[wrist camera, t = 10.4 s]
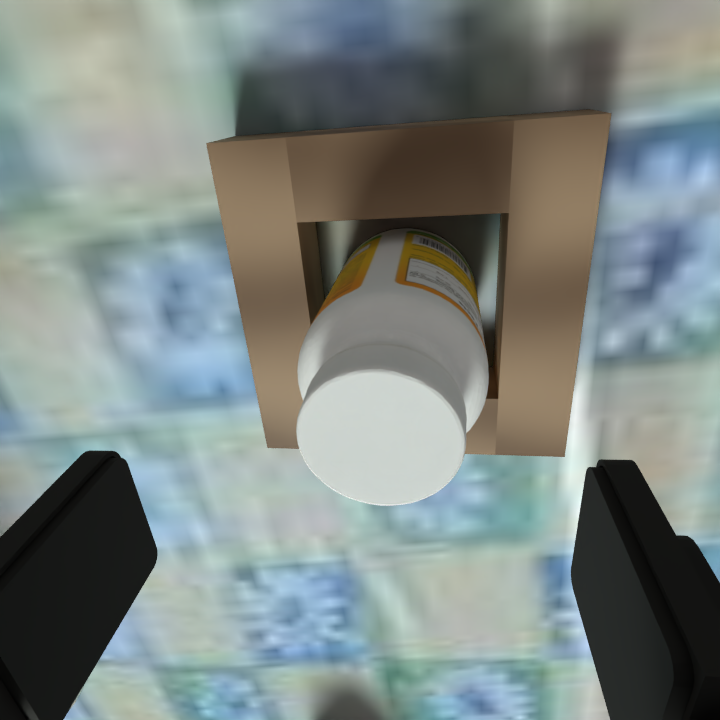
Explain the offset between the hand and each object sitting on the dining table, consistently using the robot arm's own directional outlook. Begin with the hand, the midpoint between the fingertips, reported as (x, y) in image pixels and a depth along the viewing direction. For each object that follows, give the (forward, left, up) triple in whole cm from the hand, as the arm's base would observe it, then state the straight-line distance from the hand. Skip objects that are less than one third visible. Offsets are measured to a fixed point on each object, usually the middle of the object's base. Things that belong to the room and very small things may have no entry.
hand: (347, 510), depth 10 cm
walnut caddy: (0, -1, -12) cm, 12 cm away
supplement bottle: (0, 0, -12) cm, 12 cm away
